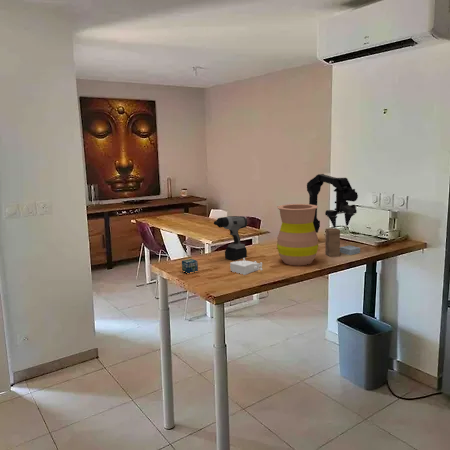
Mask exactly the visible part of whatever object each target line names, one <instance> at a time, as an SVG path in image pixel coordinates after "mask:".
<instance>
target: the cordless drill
mask: <svg viewBox="0 0 450 450" xmlns="http://www.w3.org/2000/svg"><path fill="white" fill-rule="evenodd" d="M213 224H214V225H215V226H217V227H218V228H220V229H221V228H224V229H225V230H228V231H229V235H230V236H232V238H233V242H232V243H229V244H228V246H226V249H225V251H224V257H225V260H230V261H232V262H236V261H240V260H241V259H242V260H243V258H245V259H246V258H247V257H248V252H247V247H246V244H245V243H241V238H240V235H239V231H240V230H241V229H244V228H247V226H248V219H247V217H246V216H243V215H242V216H239V215H238V216H237V215H233V216H232V215H230V216H224V217H223V216H222V217H218V218H217V219H216V220H214V221H213Z"/></svg>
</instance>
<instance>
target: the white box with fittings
mask: <svg viewBox="0 0 450 450" xmlns="http://www.w3.org/2000/svg"><path fill="white" fill-rule="evenodd" d="M229 264H230V265H229V268H230V272H231V271H232V272H231V273H235V272H236V273H235V274H239V273H240V274H239V275H242V274H243V276H247V275H249V274H252V273H253V272H257V271H259V270H260V271H261V272H262V271H263V270H264V269H263V268H262V267H263V262H262V261H261V262H257V261H256V260H254V261H250V260H246V257H245V258H242V260H235V261H232V262H229Z"/></svg>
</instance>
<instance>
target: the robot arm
mask: <svg viewBox="0 0 450 450" xmlns="http://www.w3.org/2000/svg"><path fill="white" fill-rule="evenodd" d="M324 183H326V184H329V185H332V186H333V187H334V189H333V192H335V196H336V197H335V201H334V204H335V208H334V209H328V210H325V212H324V213H325V214H324V215H325V216H326V217H328V218H329V220H330V222H331V224H332V228H336V225H337V218H338V216H337V215H338V214H340V215H341V214H344V220H345V226H349V224H350V222H351V219H352V217H353V216H355V214H357V213H358V212H357V206H356V204H349V202H356V201H357V200H358V197H359V194H358V192H357V191H356V189H355V188H352V185H351V183H350V181H349V179H348V178H347V177H335V176H330V175H326V174H325V173H320V174H319V173H318V174H316V175H315V176H314V177H313V178H311V179H310V180H309V181H308V182H307V183H306V191H307V192H308V195H309V198H308V199H309V200H308V201H309V203H308V204H310V205H316V206H318V195H319V193H320V192H321V189H322V186H323V185H324ZM313 224H314V228H315V231H316V234H317V233H319V230H320V227H321V221H320V220H319V219H318V207H317V208H316V210H315V216H314V220H313Z"/></svg>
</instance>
